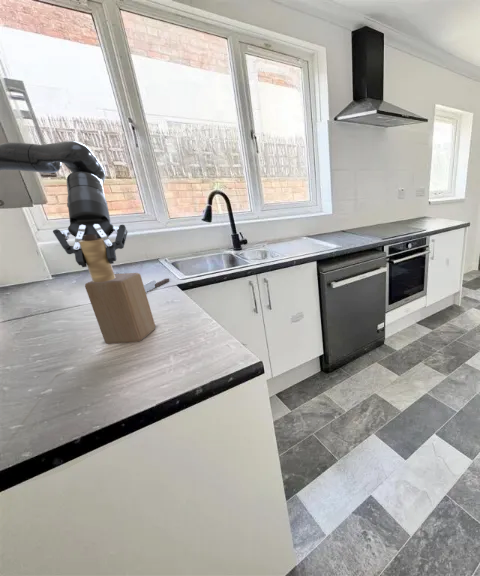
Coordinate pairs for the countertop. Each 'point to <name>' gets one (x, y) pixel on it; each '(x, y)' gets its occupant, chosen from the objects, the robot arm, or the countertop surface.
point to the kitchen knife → (154, 284)
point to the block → (121, 308)
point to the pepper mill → (96, 258)
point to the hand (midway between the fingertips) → (97, 263)
